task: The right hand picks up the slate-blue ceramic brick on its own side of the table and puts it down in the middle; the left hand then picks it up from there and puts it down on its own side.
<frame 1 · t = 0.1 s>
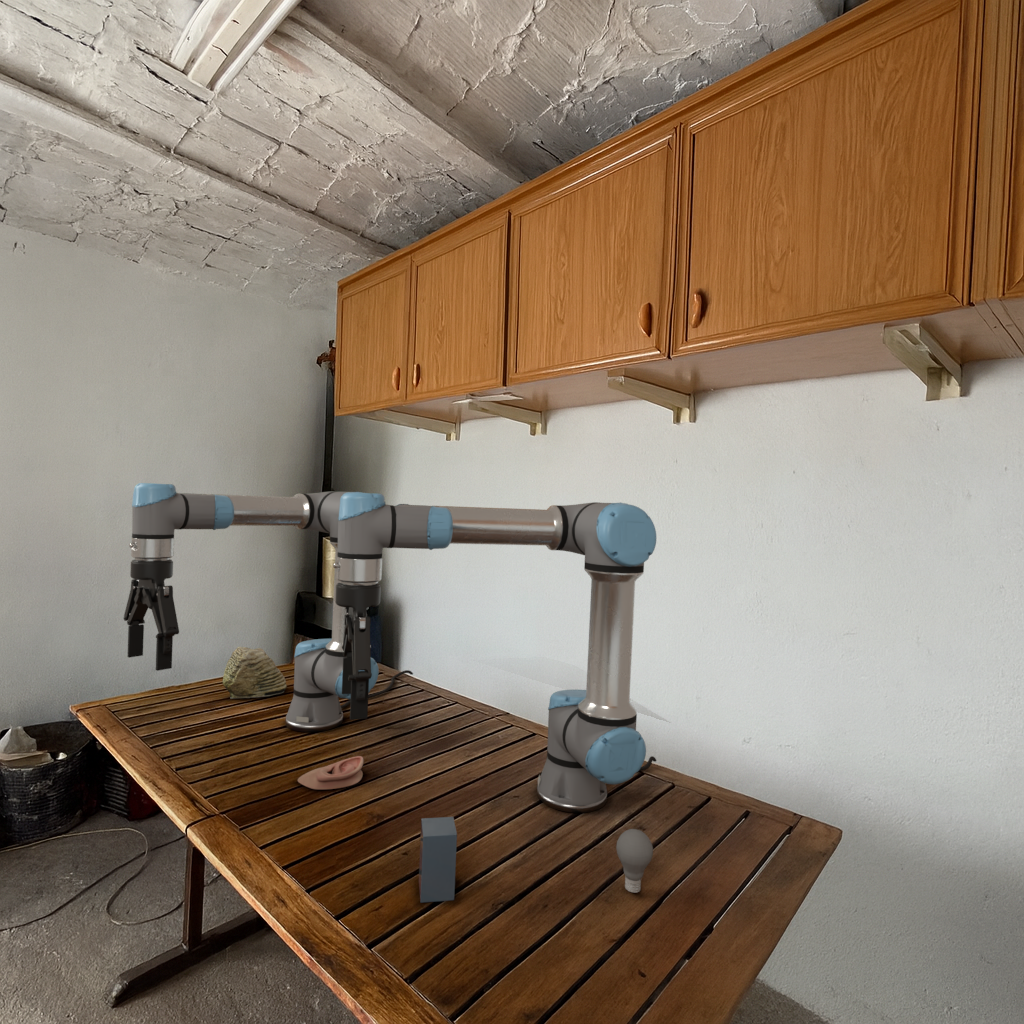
left hand: (149, 662, 129), 28 cm above the table, tool pointing down, fingers open, 13 cm apart
right hand: (353, 705, 109), 28 cm above the table, tool pointing down, fingers open, 13 cm apart
anatomical model: (330, 779, 142), on the table
light bulb: (632, 891, 106), on the table
fossil: (254, 694, 198), on the table
brick: (436, 890, 104), on the table
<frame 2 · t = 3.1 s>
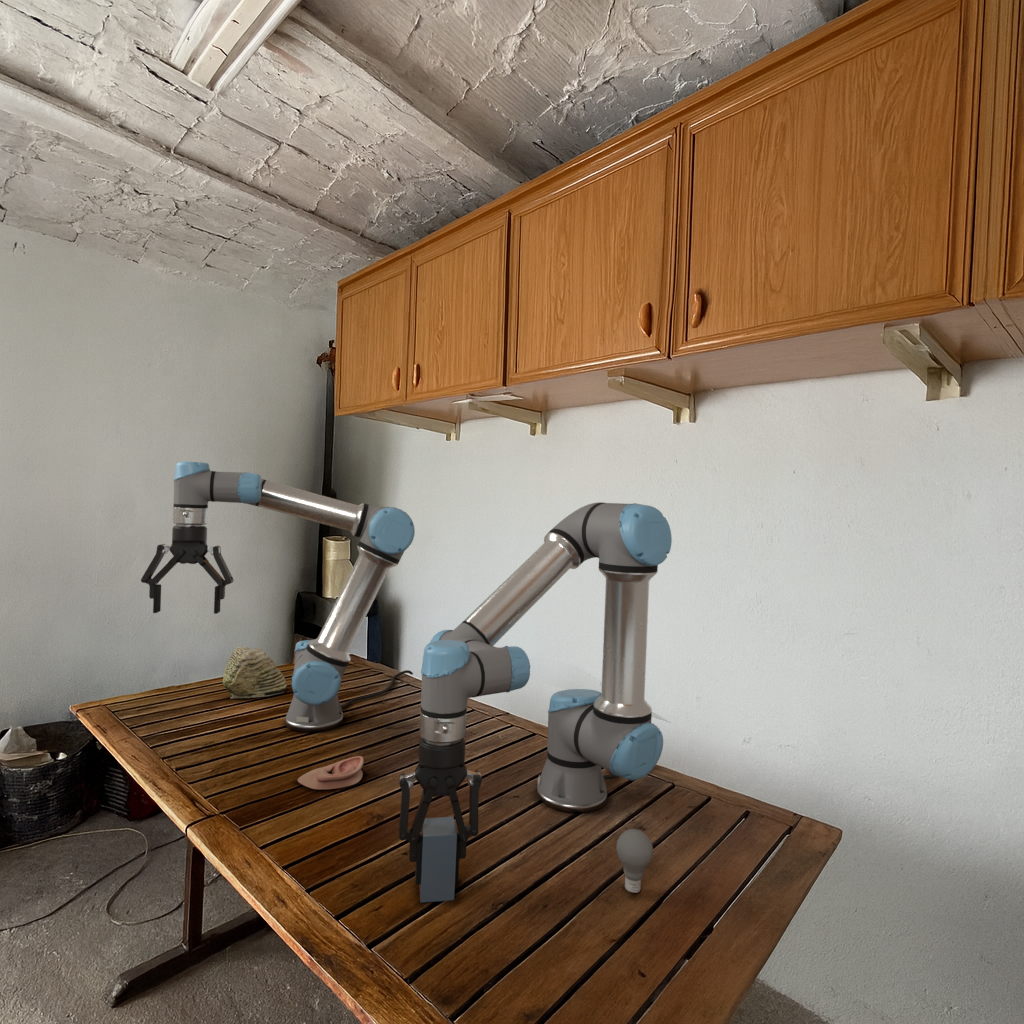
left hand: (187, 612, 154), 34 cm above the table, tool pointing down, fingers open, 13 cm apart
right hand: (436, 877, 104), 2 cm above the table, tool pointing down, fingers closed on brick, 5 cm apart
brick: (436, 890, 104), on the table, touching right hand
everything else where it was.
when the right hand's fingers open (4 cm above the table, at t = 7.8 s): brick drops 2 cm, on the table.
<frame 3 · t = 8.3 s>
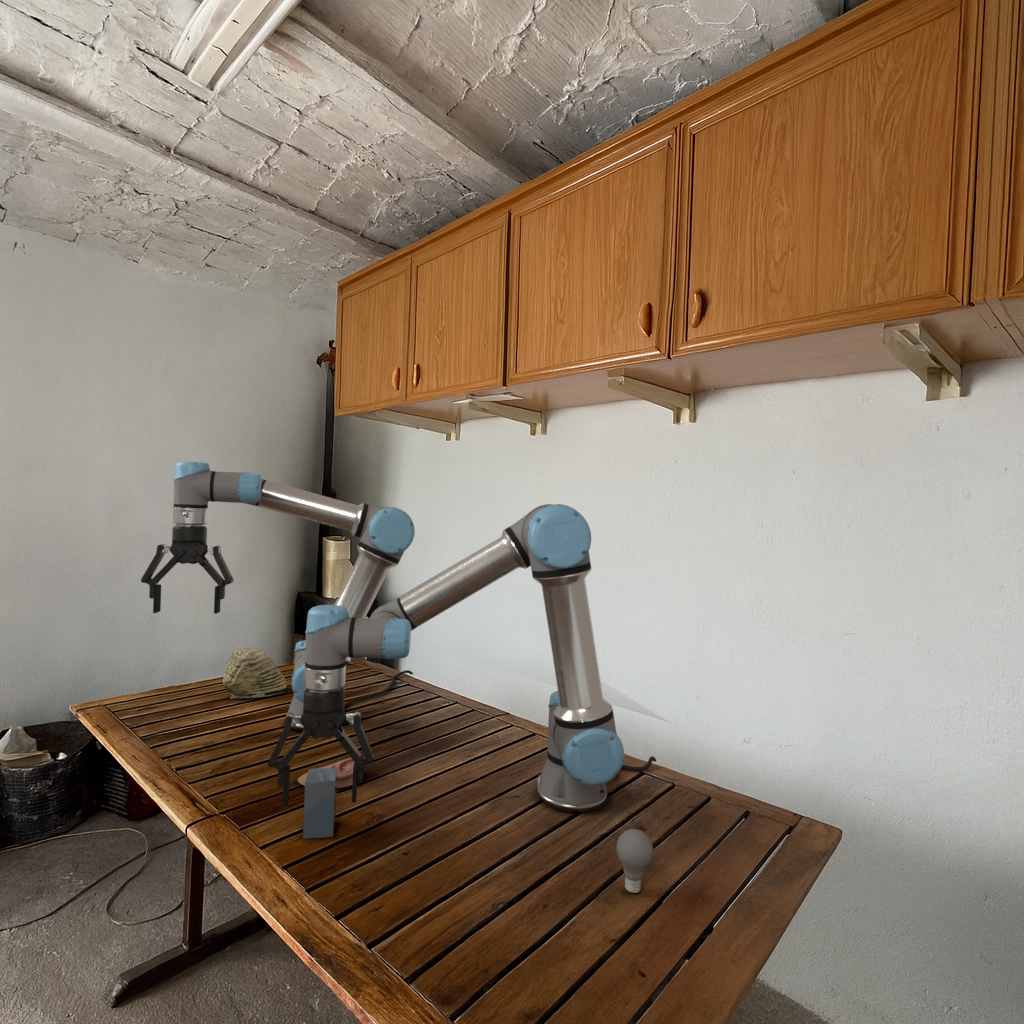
left hand: (187, 612, 154), 34 cm above the table, tool pointing down, fingers open, 13 cm apart
right hand: (320, 800, 121), 6 cm above the table, tool pointing down, fingers open, 12 cm apart
brick: (319, 829, 121), on the table
everything else where it was.
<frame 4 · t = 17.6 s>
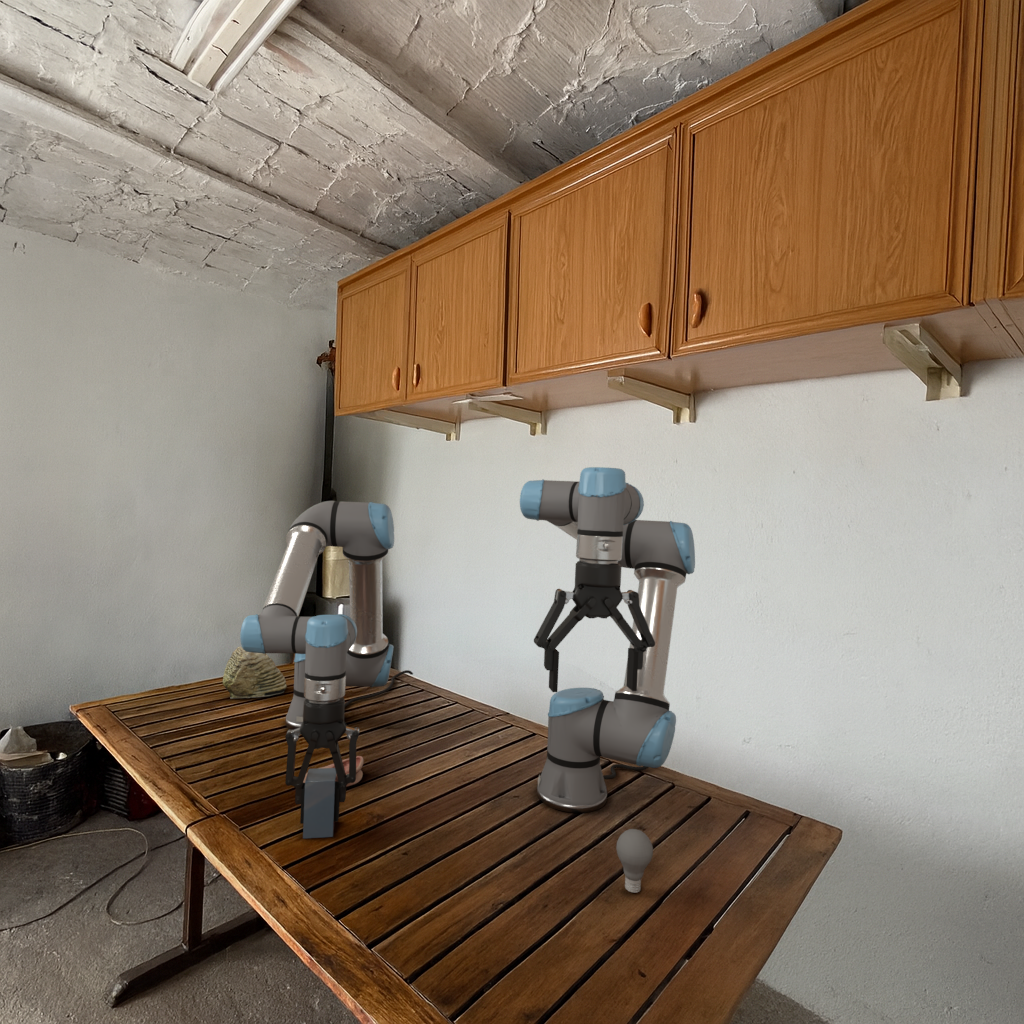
left hand: (320, 818, 121), 2 cm above the table, tool pointing down, fingers closed on brick, 5 cm apart
right hand: (592, 689, 105), 34 cm above the table, tool pointing down, fingers open, 13 cm apart
brick: (319, 829, 121), on the table, touching left hand
everything else where it was.
when the left hand's fingers open (4 cm above the table, at t = 22.9 s): brick drops 2 cm, on the table.
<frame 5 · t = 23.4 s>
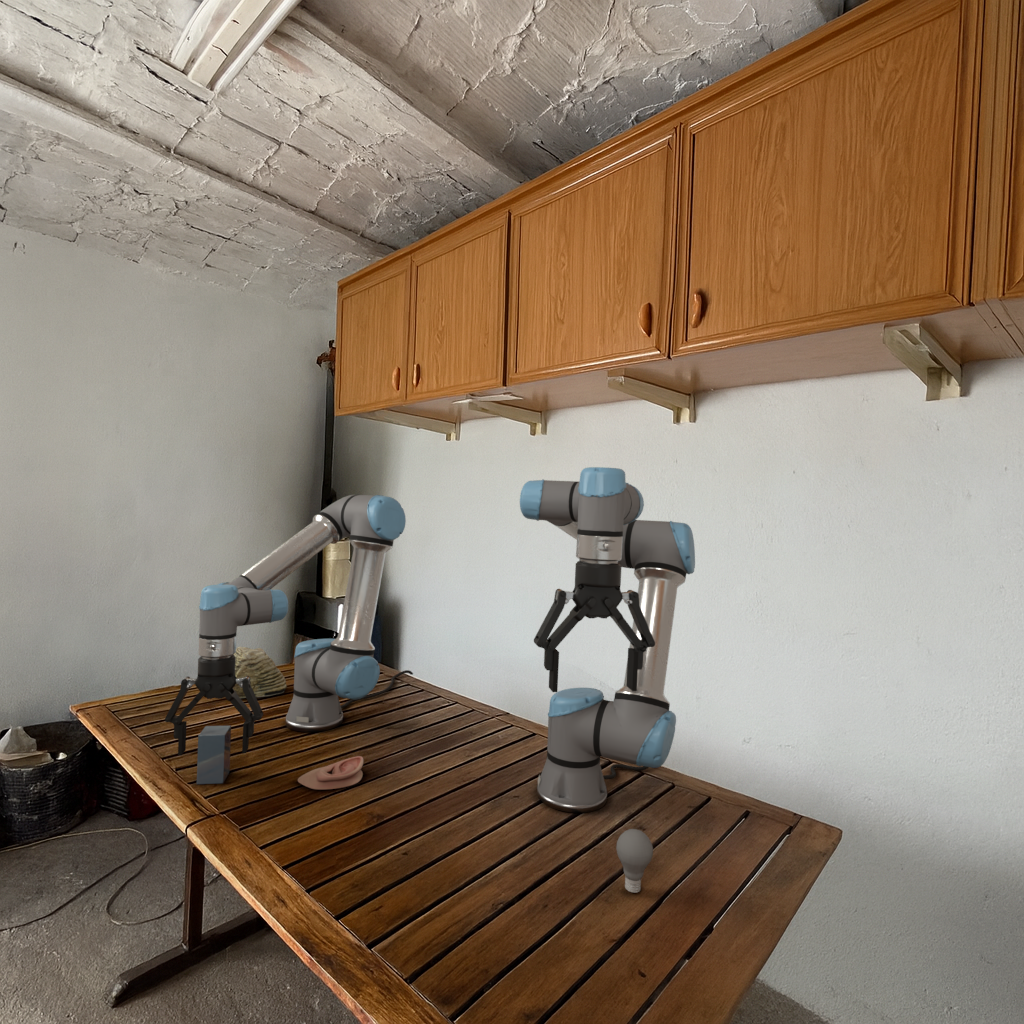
left hand: (213, 751, 140), 6 cm above the table, tool pointing down, fingers open, 12 cm apart
right hand: (592, 689, 105), 34 cm above the table, tool pointing down, fingers open, 13 cm apart
brick: (213, 778, 140), on the table
everything else where it was.
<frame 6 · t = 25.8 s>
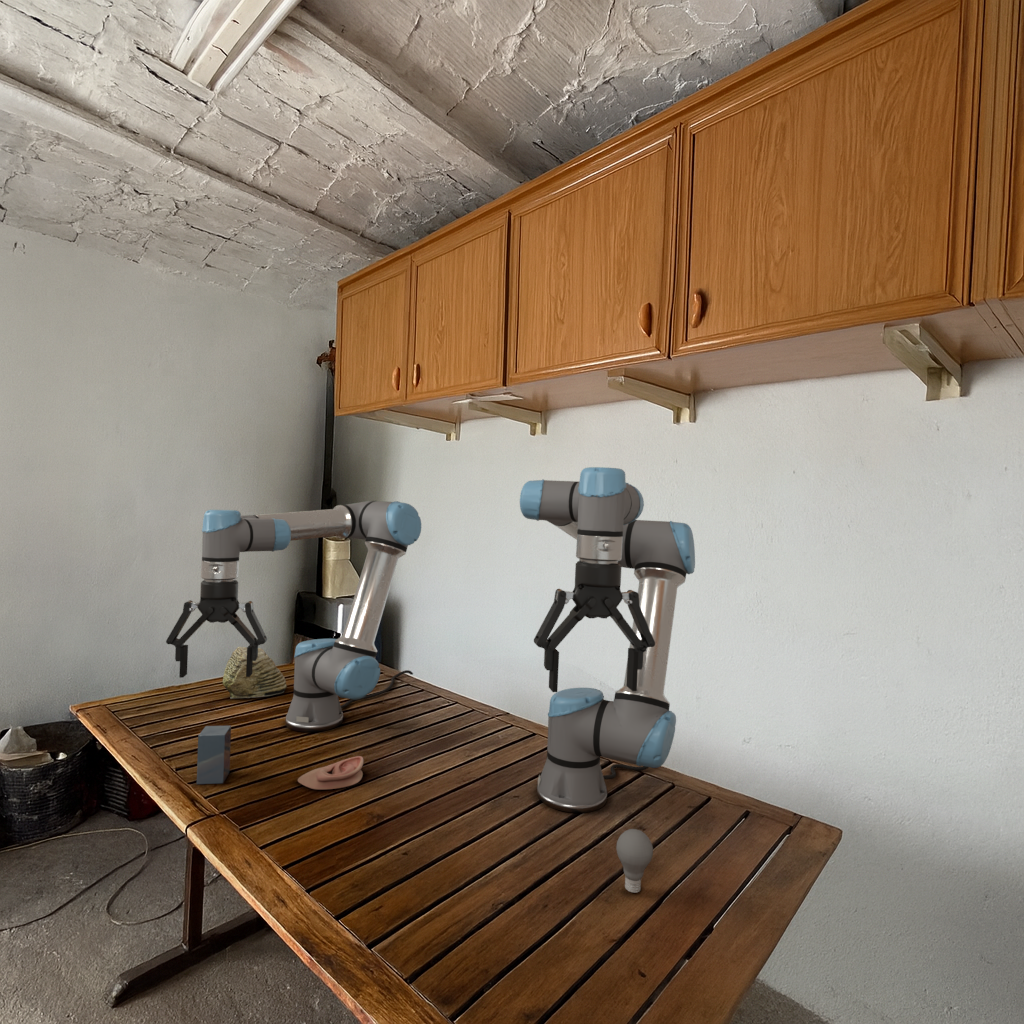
left hand: (216, 675, 140), 23 cm above the table, tool pointing down, fingers open, 13 cm apart
right hand: (592, 689, 105), 34 cm above the table, tool pointing down, fingers open, 13 cm apart
nothing on the table moved.
at the end: brick inside the target area (0.1 cm from its centre), on the table; brick tilted 0°; the two hands never held the brick at the same time; the left hand is holding nothing; the right hand is holding nothing; brick at rest at the end (0.0 cm/s) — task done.
